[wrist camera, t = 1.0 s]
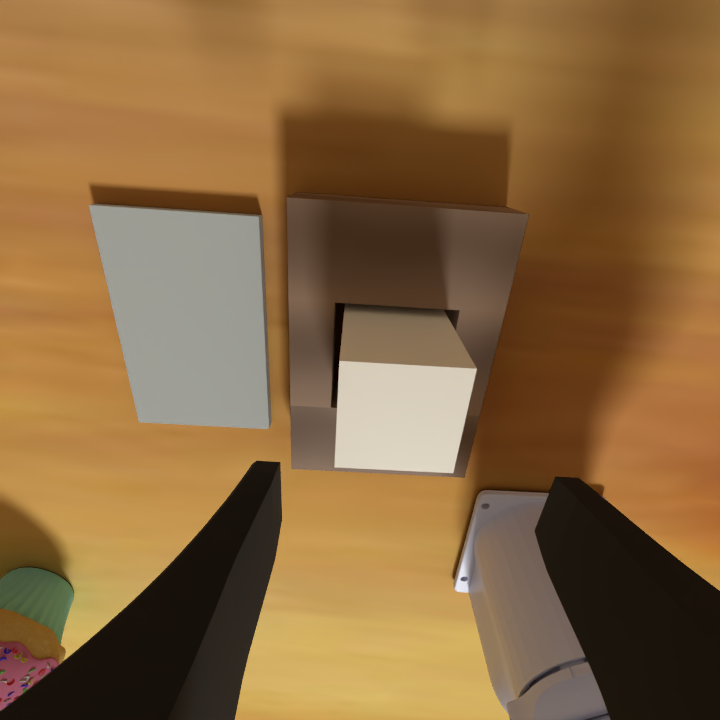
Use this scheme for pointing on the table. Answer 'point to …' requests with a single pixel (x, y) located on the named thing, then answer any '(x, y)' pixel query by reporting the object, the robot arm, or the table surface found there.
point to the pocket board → (390, 294)
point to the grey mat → (189, 312)
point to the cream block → (401, 389)
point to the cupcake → (30, 628)
